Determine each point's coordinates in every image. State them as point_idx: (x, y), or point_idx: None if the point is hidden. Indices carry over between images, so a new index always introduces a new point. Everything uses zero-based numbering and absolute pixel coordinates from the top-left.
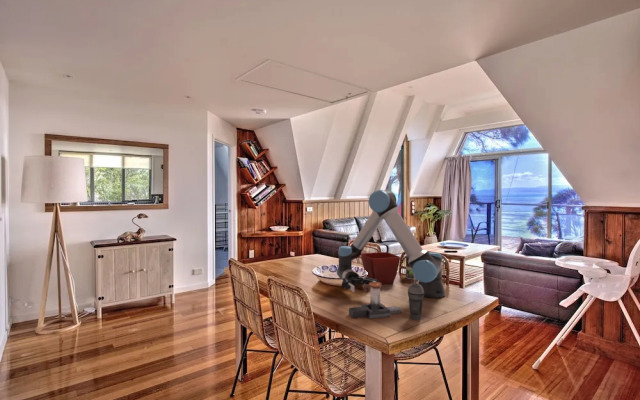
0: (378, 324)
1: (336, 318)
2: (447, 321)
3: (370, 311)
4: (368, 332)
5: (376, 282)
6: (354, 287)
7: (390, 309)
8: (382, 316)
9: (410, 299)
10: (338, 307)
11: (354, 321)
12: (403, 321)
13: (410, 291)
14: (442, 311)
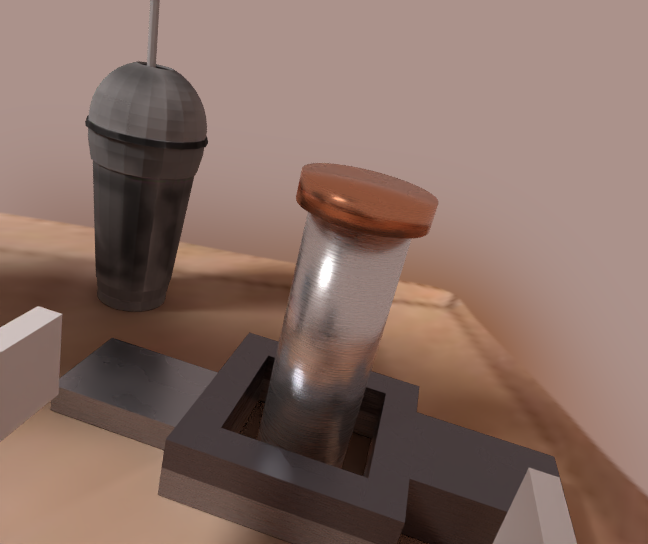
0: (399, 365)
1: None
2: (57, 226)
3: (407, 388)
4: (498, 355)
5: (338, 181)
6: (521, 484)
7: (174, 378)
8: None
9: (191, 184)
10: None
11: None
12: (237, 315)
13: (205, 127)
14: None
